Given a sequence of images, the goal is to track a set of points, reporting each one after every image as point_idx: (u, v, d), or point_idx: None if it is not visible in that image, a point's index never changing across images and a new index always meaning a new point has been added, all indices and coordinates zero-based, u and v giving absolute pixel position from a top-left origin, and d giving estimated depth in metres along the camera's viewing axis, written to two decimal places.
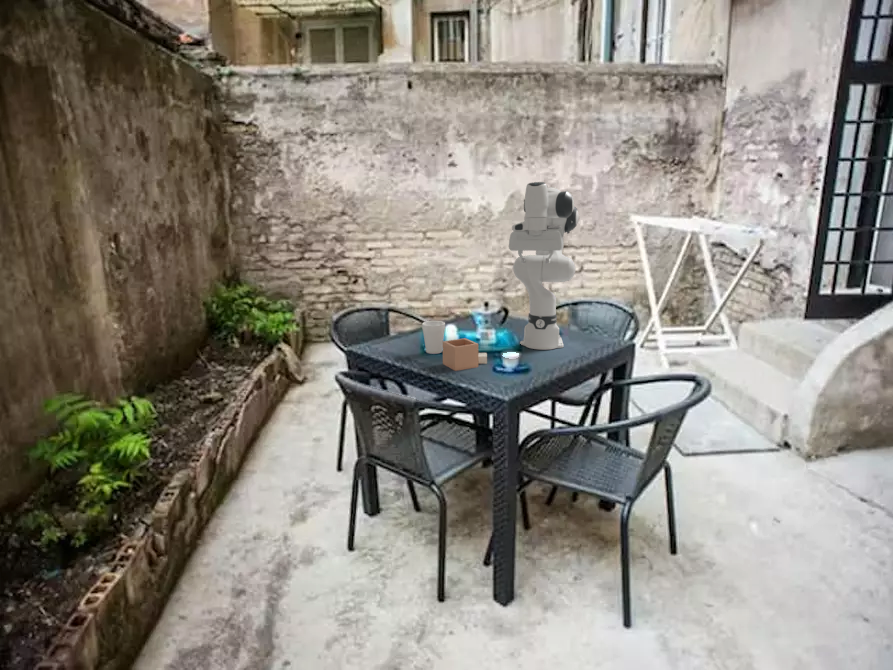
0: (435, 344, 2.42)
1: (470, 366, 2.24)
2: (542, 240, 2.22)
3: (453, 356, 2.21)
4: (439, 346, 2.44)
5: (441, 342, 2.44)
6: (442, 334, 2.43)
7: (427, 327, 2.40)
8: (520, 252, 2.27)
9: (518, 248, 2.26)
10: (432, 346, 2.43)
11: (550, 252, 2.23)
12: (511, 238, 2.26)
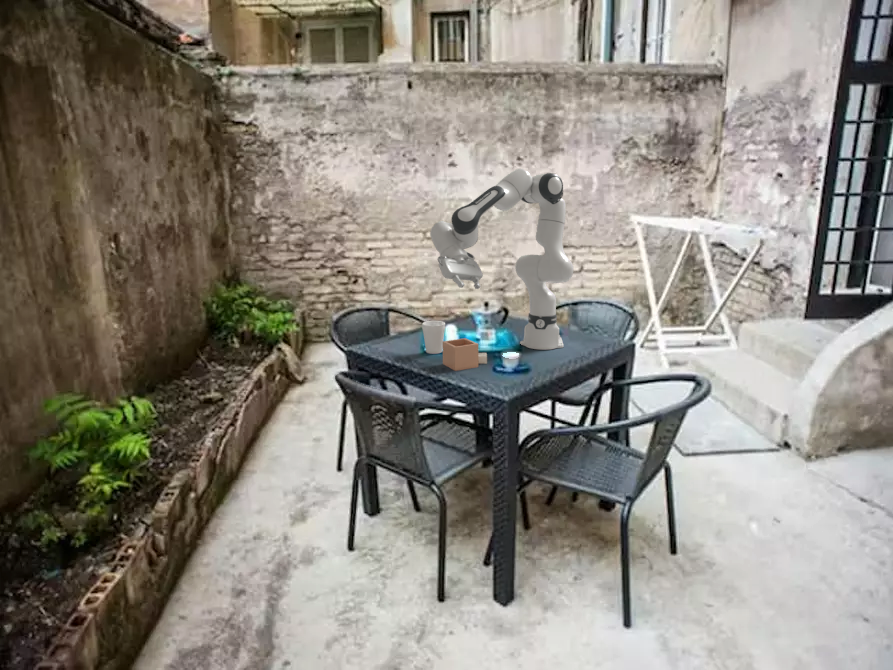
0: (435, 344, 2.42)
1: (470, 366, 2.24)
2: None
3: (453, 356, 2.21)
4: (439, 346, 2.44)
5: (441, 342, 2.44)
6: (442, 334, 2.43)
7: (427, 327, 2.40)
8: None
9: None
10: (432, 346, 2.43)
11: None
12: None
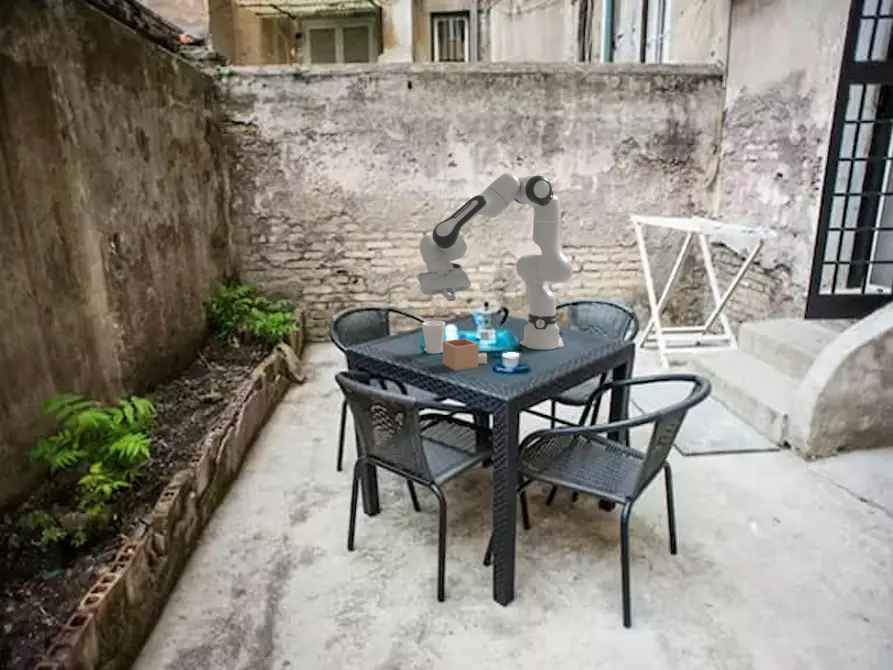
0: (435, 344, 2.42)
1: (470, 366, 2.24)
2: None
3: (453, 356, 2.21)
4: (439, 346, 2.44)
5: (441, 342, 2.44)
6: (442, 334, 2.43)
7: (427, 327, 2.40)
8: None
9: None
10: (432, 346, 2.43)
11: None
12: None
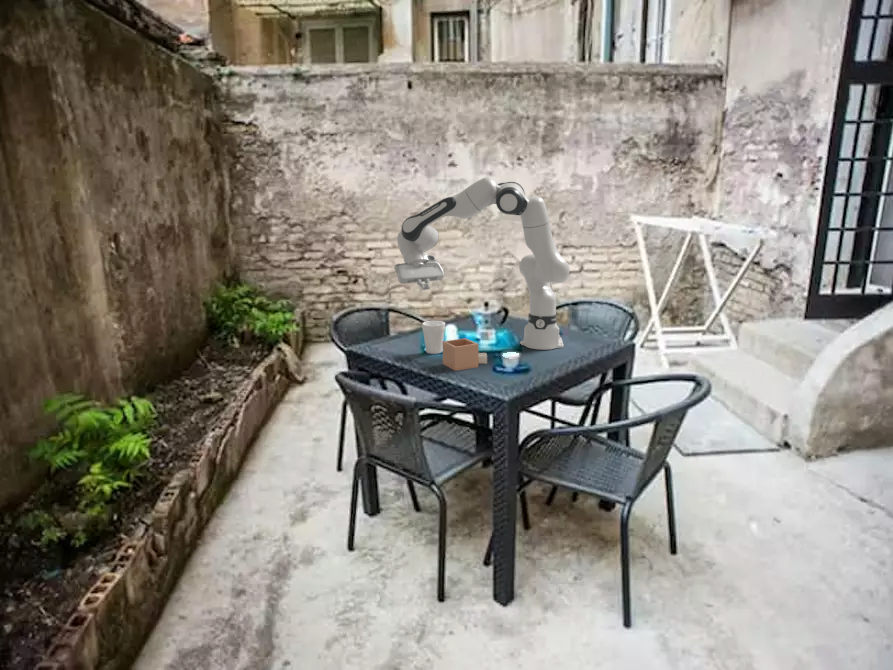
0: (435, 344, 2.42)
1: (470, 366, 2.24)
2: None
3: (453, 356, 2.21)
4: (439, 346, 2.44)
5: (441, 342, 2.44)
6: (442, 334, 2.43)
7: (427, 327, 2.40)
8: None
9: None
10: (432, 346, 2.43)
11: None
12: None
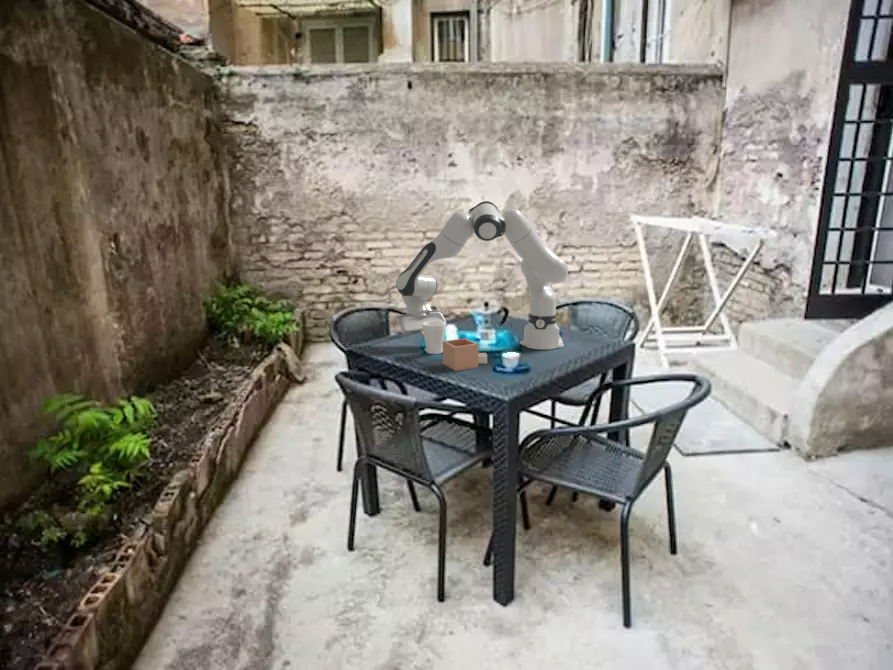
0: (435, 344, 2.42)
1: (470, 366, 2.24)
2: None
3: (453, 356, 2.21)
4: (439, 346, 2.43)
5: (441, 342, 2.44)
6: (442, 334, 2.43)
7: (427, 327, 2.40)
8: None
9: None
10: (432, 346, 2.42)
11: None
12: None
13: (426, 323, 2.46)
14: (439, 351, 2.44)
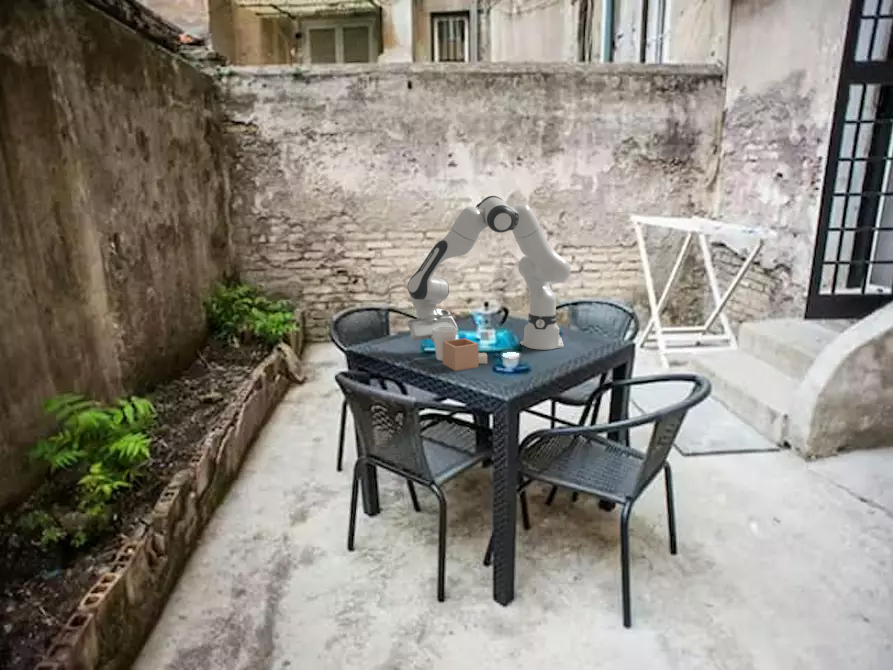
0: None
1: (470, 366, 2.24)
2: None
3: (453, 356, 2.21)
4: None
5: None
6: None
7: (437, 333, 2.31)
8: None
9: None
10: (442, 353, 2.33)
11: None
12: None
13: (437, 328, 2.37)
14: None
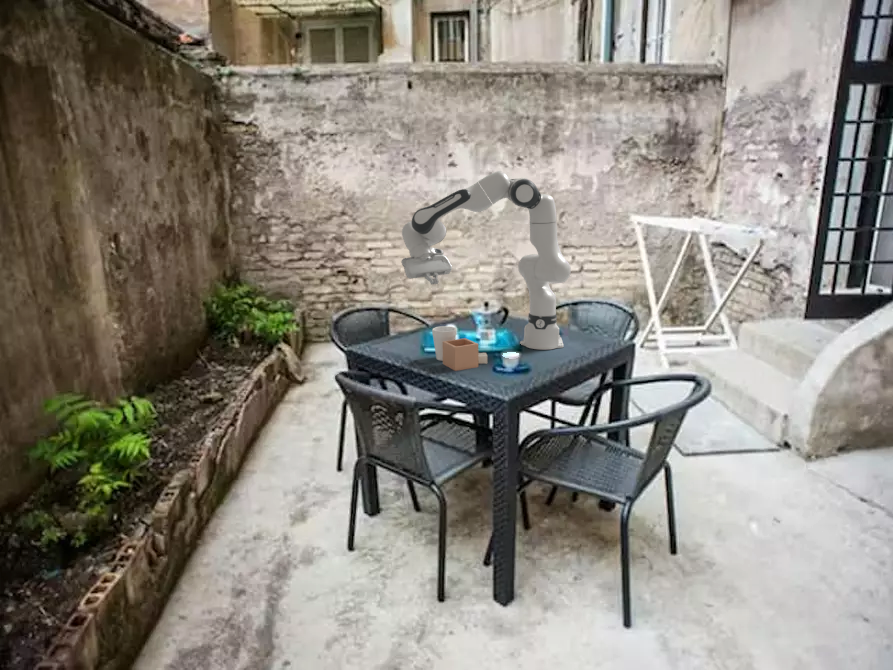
0: None
1: (470, 366, 2.24)
2: None
3: (453, 356, 2.21)
4: None
5: None
6: None
7: (436, 333, 2.31)
8: None
9: None
10: (442, 353, 2.33)
11: None
12: None
13: (437, 328, 2.37)
14: None
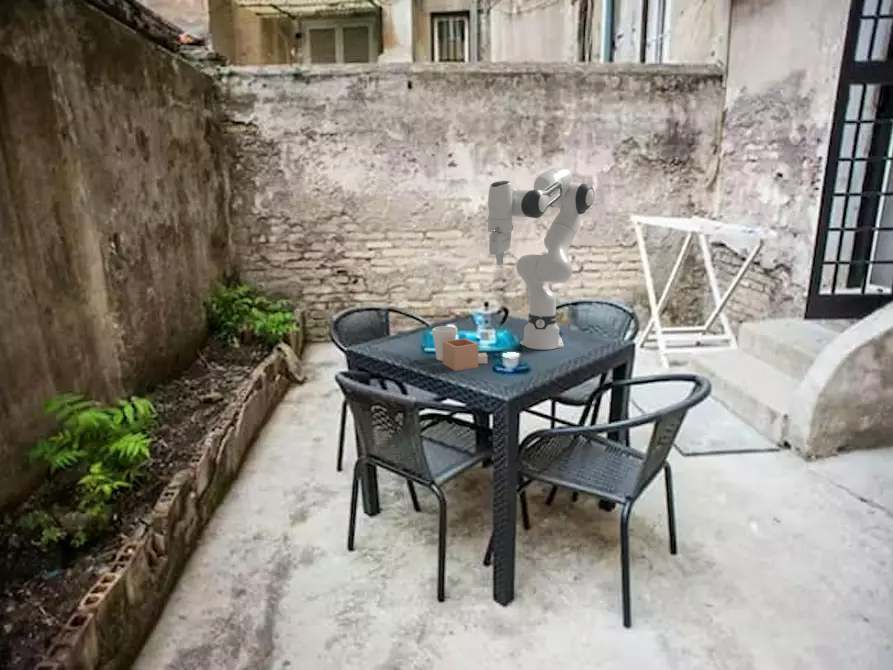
0: None
1: (470, 366, 2.24)
2: None
3: (453, 356, 2.21)
4: None
5: None
6: None
7: (437, 333, 2.31)
8: None
9: None
10: (442, 353, 2.33)
11: None
12: None
13: (437, 328, 2.37)
14: None
